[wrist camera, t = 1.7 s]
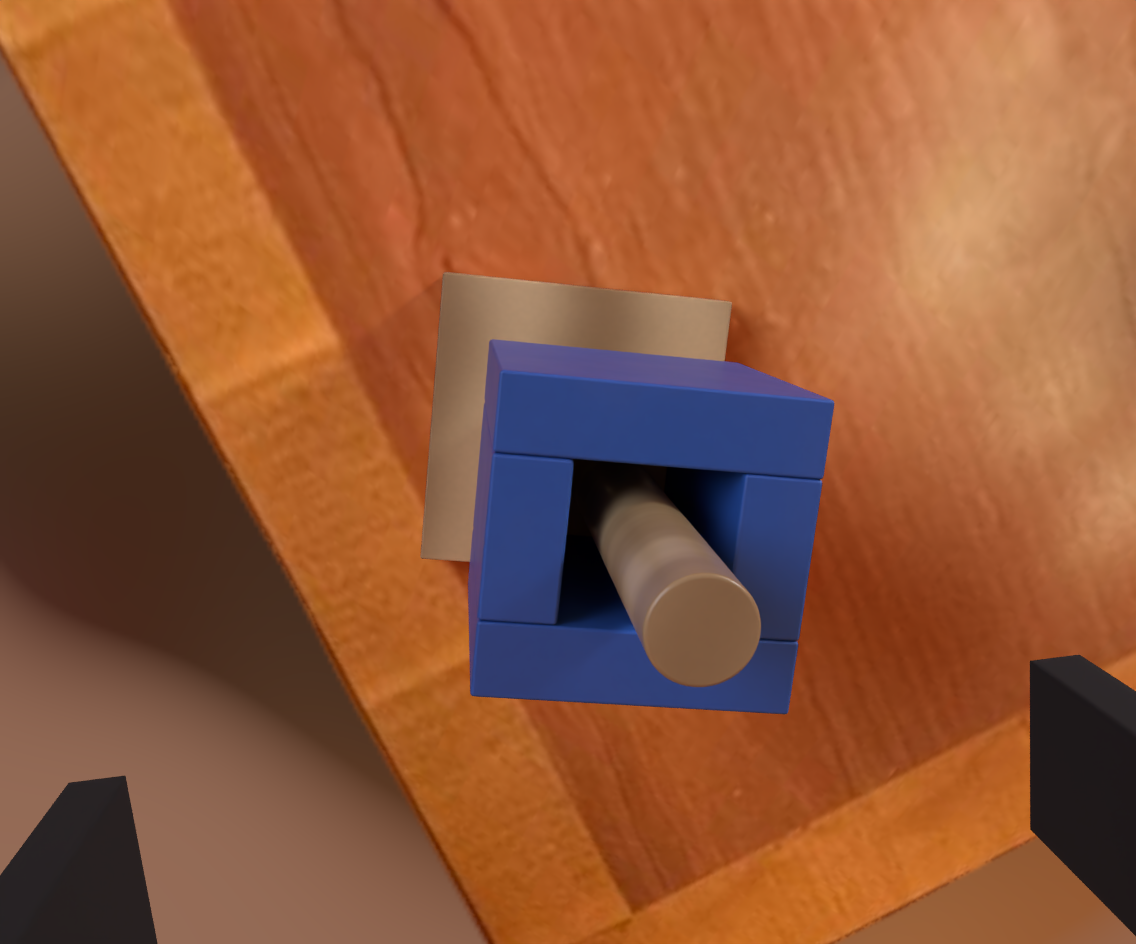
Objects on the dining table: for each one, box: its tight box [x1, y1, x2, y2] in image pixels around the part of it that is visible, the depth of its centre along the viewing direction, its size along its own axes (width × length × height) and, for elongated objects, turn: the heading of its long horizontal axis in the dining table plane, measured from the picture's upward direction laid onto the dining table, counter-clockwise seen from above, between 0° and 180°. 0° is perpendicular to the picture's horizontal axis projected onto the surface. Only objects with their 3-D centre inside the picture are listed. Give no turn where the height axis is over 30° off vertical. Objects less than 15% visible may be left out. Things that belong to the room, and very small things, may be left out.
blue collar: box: [468, 339, 834, 714], centre depth 27 cm, size 7×7×8 cm
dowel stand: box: [421, 272, 761, 687], centre depth 29 cm, size 10×10×22 cm
